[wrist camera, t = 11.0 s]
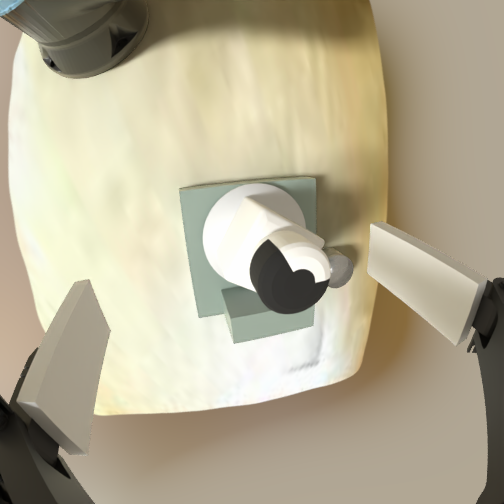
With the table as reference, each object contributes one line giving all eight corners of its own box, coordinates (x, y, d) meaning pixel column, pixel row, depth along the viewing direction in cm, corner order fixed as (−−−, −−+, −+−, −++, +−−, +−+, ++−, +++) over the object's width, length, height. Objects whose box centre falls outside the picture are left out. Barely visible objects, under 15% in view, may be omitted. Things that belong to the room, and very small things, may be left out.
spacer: (312, 249, 41) (325, 259, 37) (340, 245, 42) (354, 254, 38) (311, 279, 43) (323, 291, 39) (338, 274, 44) (351, 284, 40)
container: (267, 275, 36) (310, 334, 24) (214, 253, 33) (235, 310, 21) (297, 223, 34) (356, 260, 22) (244, 194, 31) (284, 220, 20)
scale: (179, 188, 33) (178, 200, 24) (305, 176, 37) (345, 185, 28) (197, 310, 39) (205, 354, 30) (306, 290, 43) (336, 324, 34)
